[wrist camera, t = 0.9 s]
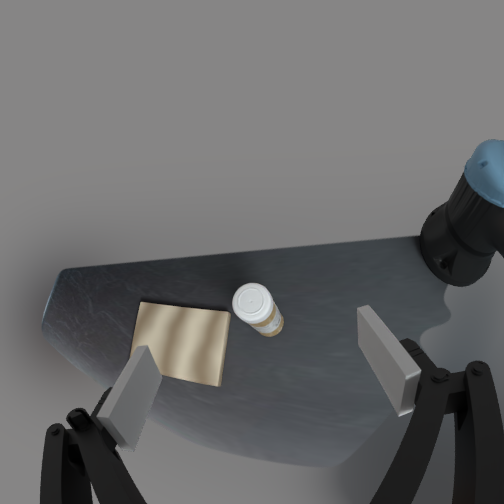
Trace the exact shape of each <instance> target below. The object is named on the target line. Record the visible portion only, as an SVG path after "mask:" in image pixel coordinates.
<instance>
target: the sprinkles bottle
mask: <svg viewBox="0 0 504 504" xmlns="http://www.w3.org/2000/svg"><path fill="white" fill-rule="evenodd" d="M232 305H233V309H234V312H235V313H236V315H237V316H238V317H239V318H240V319H242V320H243V321H244V322H247V323H248V324H249V325H251V326H252V327H253V328H254V329H256V330H257V331H258V332H259V333H260V334H262V335H264V336H274V335H276V334H278V333H279V332H280V331H281V329H282V327H283V324H284V321H283V317H282V315H281V313H280V312H279V310H278V308H277V306H276V304H275V303H274V301H273V298H272V296H271V294H270V293H269V291H268V290H267V289H266V288H265V287H264V286H263V285H261V284H258V283H248V284H245V285H243V286H241V287H240V288H239V289H238V290H237V291H236V293H235V294H234V297H233V301H232Z"/></svg>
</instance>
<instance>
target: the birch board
mask: <svg viewBox="0 0 504 504" xmlns="http://www.w3.org/2000/svg"><path fill="white" fill-rule="evenodd" d="M230 317H231V314H230V313H229V312H225V311H214V310H204V309H195V308H186V307H177V306H169V305H161V304H153V303H146V302H141V303H140V307H139V312H138V317H137V322H136V327H135V332H134V337H133V342H132V348H131V354H130V358H131V356H132V354H133V353H134V351H135V350H136V348H137V346H144V345H148V347H149V349H150V352H151V354H152V356H153V358H154V361H155V363H156V365H157V367H158V369H159V371H160V374H162V375H166V376H170V377H174V378H179V379H183V380H188V381H192V382H197V383H202V384H208V385H213V386H221V380H222V373H223V366H224V359H225V352H226V345H227V338H228V331H229V324H230Z"/></svg>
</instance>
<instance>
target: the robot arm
mask: <svg viewBox="0 0 504 504" xmlns="http://www.w3.org/2000/svg"><path fill="white" fill-rule="evenodd" d="M420 245H421V250H422V254H423V257H424V259H425V261H426V263H427V265H428V266H429V268H430V269H431V271H432V272H433V273H434V274H435V275H436V276H437V277H438V278H440V279H441V280H442V281H444V282H446V283H448V284H450V285H453V286H458V287H463V286H469V285H471V284H473V283H475V282H476V281H477V280H478V279H480V278H481V277H482V276H483V275H484V274H485V273H486V271H487V269H488V268H489V266H490V263H491V259H492V257H493V256H494V254H495V252H496V251H498V252H499V253H500V254H501V255H502V256H503V258H504V141H503V140H495V139H491V140H487V141H484V142H482V143H481V144H480V145H478V146H477V148H476V149H475V151H474V153H473V155H472V156H471V158H470V159H469V160H468V161H467V163H466V165H465V170H464V173H463V174H462V176H461V178H460V180H459V182H458V184H457V186H456V188H455V189H454V191H453V193H452V195H451V196H450V198H449V200H448V201H447V202H445V203H444V204H442V205H441V206H439V207H438V208H436V209H435V210H433V211H432V212H431V214H430V215H429V216H428V218H427V219H426V221H425V223H424V224H423V227H422V230H421V234H420ZM357 319H358V345H359V347H360V348H361V350H362V352H363V354H364V355H365V357H366V359H367V361H368V362H369V364H370V366H371V368H372V369H373V371H374V373H375V375H376V376H377V378H378V380H379V382H380V383H381V385H382V387H383V389H384V391H385V392H386V394H387V396H388V398H389V400H390V401H391V403H392V405H393V407H394V409H395V411H396V413H397V414H398V416H401V415H404V414H406V413H409V412H411V411H413V407H414V403H415V405H416V407H415V410H414V413H413V415H412V418H411V420H410V423H409V426H408V428H407V431H406V433H405V435H404V438H403V440H402V442H401V445H400V447H399V449H398V451H397V454H396V456H395V458H394V460H393V462H392V464H391V466H390V468H389V470H388V472H387V474H386V476H385V478H384V479H383V481H382V483H381V485H380V487H379V489H378V490H377V492H376V494H375V495H374V497H373V499H372V501H371V502H370V504H411V503H412V501H413V499H414V496H415V494H416V492H417V490H418V487H419V485H420V483H421V481H422V478H423V476H424V474H425V471H426V468H427V466H428V463H429V461H430V458H431V455H432V452H433V449H434V446H435V443H436V440H437V437H438V434H439V430H440V427H441V423H442V420H443V416H444V414H450V413H454V421H455V474H454V488H453V498H452V504H504V431H503V425H502V419H501V414H500V409H499V404H498V399H497V394H496V390H495V386H494V382H493V379H492V375H491V372H490V368H489V366H488V365H487V364H486V363H485V362H482V361H473V362H471V363H469V364H468V365H467V367H466V370H465V371H462V372H457V373H450V372H449V371H448V370H446V369H444V368H437V367H436V366H435V364H434V363H433V362H432V361H431V360H430V359H429V357H428V356H427V355H426V354H425V353H424V351H423V350H422V349H420V347H419V346H418V345H417V343H416V342H414V341H412V340H410V339H408V338H407V339H404V340H401V341H398V340H397V339H396V337H395V336H394V335H393V334H392V332H391V331H390V330H389V329H388V328H387V326H386V325H385V324H384V323H383V322H382V320H381V319H380V318H379V317H378V316H377V314H376V313H375V312H374V311H373V310H372V308H371V307H370V306H369V305H366V306H362V307H359V308H357ZM161 380H162V376H161V374H160V371H159V369H158V367H157V365H156V363H155V361H154V358H153V356H152V354H151V352H150V349H149V347H148V345H144V346H137V348H136V350H135V351H134V353H133V354H132V356H131V358H130V359H129V361H128V363H127V364H126V366H125V368H124V369H123V371H122V373H121V374H120V376H119V378H118V380H117V381H116V383H115V385H114V386H113V387H110V388H109V389H108V390H106V391H105V392H104V394H103V395H102V397H101V400H99V402H98V404H97V406H96V407H95V409H94V411H93V412H92V414H91V416H89V414H88V413H87V412H86V410H85V409H83V408H76V409H74V410H72V411H71V412H70V413H69V414H68V415H67V418H66V420H67V422H68V423H69V424H70V426H71V427H72V428H73V429H65V428H64V426H63V425H62V424H60V423H56V424H53V425H51V426H50V427H49V428H48V429H47V432H46V437H45V444H44V452H43V460H42V471H41V486H40V504H93V501H92V492H91V484H92V486H93V489H94V491H95V494H96V496H97V498H98V501H99V503H100V504H147V503H146V502H145V500H144V498H143V497H142V495H141V494H140V492H139V490H138V489H137V487H136V485H135V484H134V482H133V480H132V478H131V476H130V475H129V473H128V471H127V469H126V467H125V465H124V464H123V461H122V459H121V457H120V456H119V453H118V452H117V451H116V449H115V447H116V445H117V444H118V445H119V447H120V448H121V449H122V450H125V451H133V452H134V451H135V448H136V445H137V442H138V440H139V437H140V434H141V432H142V429H143V426H144V424H145V421H146V419H147V416H148V413H149V411H150V408H151V406H152V403H153V400H154V398H155V395H156V393H157V390H158V388H159V385H160V383H161ZM90 481H91V482H90Z"/></svg>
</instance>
